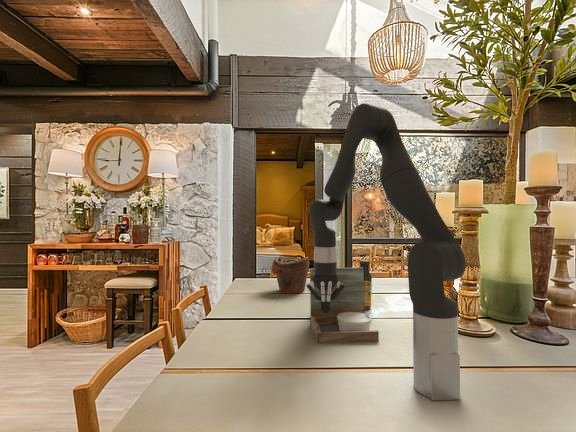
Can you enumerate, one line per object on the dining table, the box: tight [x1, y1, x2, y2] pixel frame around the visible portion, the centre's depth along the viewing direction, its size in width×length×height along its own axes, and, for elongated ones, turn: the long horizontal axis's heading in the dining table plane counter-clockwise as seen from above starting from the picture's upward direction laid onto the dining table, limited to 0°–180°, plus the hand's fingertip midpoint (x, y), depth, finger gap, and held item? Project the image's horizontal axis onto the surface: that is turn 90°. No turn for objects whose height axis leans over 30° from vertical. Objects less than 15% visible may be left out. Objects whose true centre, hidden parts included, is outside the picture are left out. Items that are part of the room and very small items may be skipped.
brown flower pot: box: [270, 256, 311, 294], centre depth 171 cm, size 18×20×18 cm
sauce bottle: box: [359, 259, 373, 311], centre depth 139 cm, size 6×6×20 cm
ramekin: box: [337, 312, 372, 332], centre depth 111 cm, size 11×11×5 cm
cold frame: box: [309, 267, 380, 344], centre depth 111 cm, size 17×19×20 cm
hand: (325, 312), depth 111 cm, fingers closed
